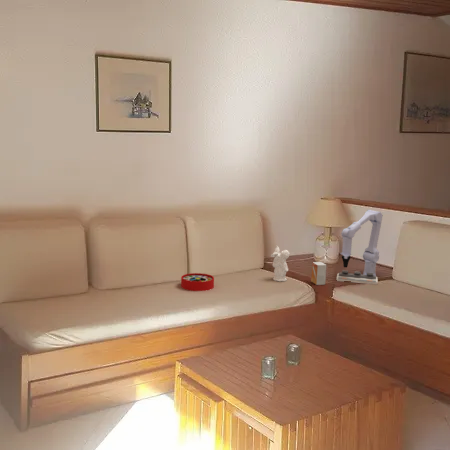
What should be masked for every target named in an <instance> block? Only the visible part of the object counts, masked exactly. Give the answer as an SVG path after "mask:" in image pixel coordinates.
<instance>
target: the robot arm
mask: <svg viewBox="0 0 450 450" xmlns="http://www.w3.org/2000/svg"><path fill="white" fill-rule="evenodd" d="M368 221H370V223H371V224H372V225H371V231H370V238H369V242H368V246H367V247H366V248H365V249H364V252H363V254H362V259H363V261H364V270H363V273H362V274H363V275H367V272H368V273H373V275H374V276H376V277H377V275H376V268H377V267H376V266H377V263H378V261H379V259H380V255H379V253H380V251H379V250H378V249H377V247H378V244H379V243H378V242H379V238H380V237H379V236H380V231H381V228H382V227H381V226H382V221H383V212H381V211H378V210H373V209H367V210H366V211H365V212H364V215H362V217H361V218H360V219H359V220H358V221H353V222H352V224H350V225H349V226H347V228H343V230H342V232H341V233H340V235H341V236H342V238H341V239H342V247H341V248H342V249H341V251H342V252H339V254H340V255H341V259H342V263H343V264H342V265H343V268H348V266H349V263H350V260H351V258H352V257H351V256H352V246H353V245H352V243H353V242H352V241H353V238H354V237H355V235H356V233H357V232H358V231H359V230H361V228H362V227H361V226H363V225H364V224H366V223H367V222H368Z"/></svg>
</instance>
